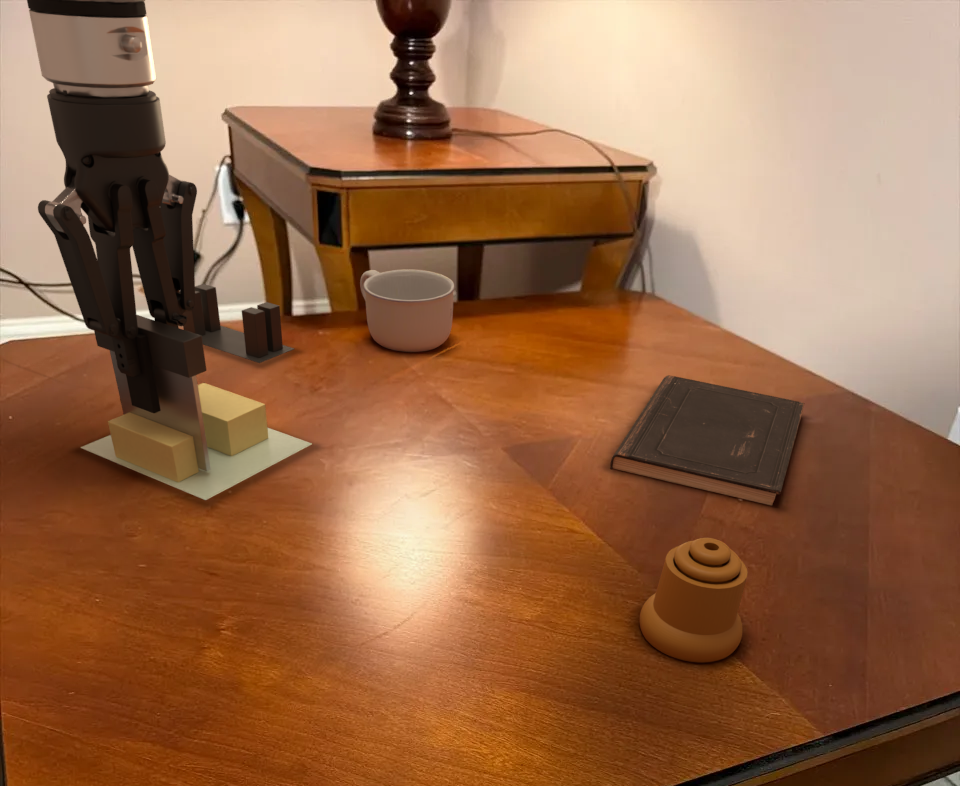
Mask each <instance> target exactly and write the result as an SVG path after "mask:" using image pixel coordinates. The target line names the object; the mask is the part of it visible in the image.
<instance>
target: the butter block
mask: <svg viewBox="0 0 960 786" xmlns="http://www.w3.org/2000/svg"><path fill="white" fill-rule="evenodd" d="M198 390H199V396H200V403H201V409H202V416H203V422H204V429H205V435H206V441H207V447H209V448H211V449H214V450H217V451H219V452H222V453H224V454H227V455H230V456H233V455H235V454H237V453H239V452H241V451H243V450H245V449H247V448H249V447H251V446H253V445H256V444H258V443H260V442H262V441H264V440H266V439H268V428H269V427H268V419H267V418H268V417H267V409H266V408H267V407H266V404H265V403H263V402H261V401H257V400H255V399H252V398H248V397H246V396H243V395H240V394H237V393H234V392H231V391H229V390H226V389H223V388H220V387H217V386H214V385H213V384H208V383H206V382H202V383H199V384H198ZM267 427H268V428H267Z"/></svg>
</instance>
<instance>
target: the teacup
mask: <svg viewBox="0 0 960 786" xmlns="http://www.w3.org/2000/svg"><path fill="white" fill-rule="evenodd" d="M359 281H360V282H359V286H360V292H361V295H362V298H363V299H364V301H365V312H366V322H367V328H368V332H369V334H370V336H371V337H372V339H373V341H375V342H376V343H377V344H378V345H379V346H382V347H383V348H385V349H388V350H391V351H397V352H401V353H402V352H403V353H422V352H428V351H432V350H434V349H436V348H438V347H440V346H441V345H443V344H445V342H446V341H447V340H448V338H449V336H450V335H451V332H452V327H453V317H454V292H455V283H454V281H453V280H452V279H451V278H450V277H447V276H446V275H444V274H441V273H438V272H434V271H429V270H424V269H414V268H413V269H412V268H411V269H409V268H408V269H407V268H405V269H393V270H386V271H383V272H380V271H378V270H376V269H370V270H366V271H364V272H363V274H362V275H361V277H360V280H359Z"/></svg>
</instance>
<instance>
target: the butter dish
mask: <svg viewBox="0 0 960 786" xmlns="http://www.w3.org/2000/svg"><path fill="white" fill-rule="evenodd" d="M267 428H268V439H266V440H264V441H262V442H260V443H258V444H256V445H253V446H251V447H249V448H247V449H245V450H243V451H241V452H239V453H237V454H235V455H233V456H230V455H227V454H224V453H222V452H219V451H217V450H214V449H211V448H209V447H207V448H208V454H209V461H210V467H211V470H209V471H204V470H202V469H199V468H198V469H199V472H198V473H196V474H194V475H192V476H190V477H188V478H186V479H184V480H182V481H180V482H176V481H173V480H171V479H168V478H166V477H164V476H161V475H159V474H156V473H154V472H152V471H149V470H147V469H144V468H142V467H139V466H137V465H135V464H132V463H130V462H127V461H125V460H123V459H120V458H118V457H116V456H115V451H114V447H113V443H112V438H111V434H109V435H106V436H105V437H102V438H99V439H97V440H94V441H92V442H90V443H87V444H85V445H82V446H80V449H83V450H84V451H87V452H90V453H92V454H94V455H97V456H99V457H100V458H103V459H107V460H109V461H110V462H113V463H116V464H117V465H120V466H123V467H125V468H128V469H130V470H132V471H135V472H137V473H139V474H141V475H144V476H147V477H149V478H151V479H153V480H156V481H159V482H161V483H164V484H165V485H168V486H171V487H173V488H175V489H178V490H180V491H182V492H185V493H187V494H189V495H193V496H194V497H197V498H199V499H202V500H204V501H207V500H209V499H211V498H213V497H215V496H217V495H219V494H220V493H222V492H224V491H226V490H228V489H230V488H232V487H234V486H236V485H238V484H239V483H241V482H243V481H245V480H248V479H249V478H251V477H252V476H255V475H257V474H259V473H261V472H262V471H264V470H266V469H268V468H270V467H272V466H274V465H276V464H278V463H279V462H281V461H283V460H285V459H287V458H289V457H290V456H293V455H295V454H297V453H299V452H300V451H302V450H304V449H306V448H308V447H310V446H311V445H313V443H312V442H309V441H307V440H303V439H301V438H298V437H296V436H292V435H290V434H287V433H284V432H281V431H279V430H276V429H273V428H271V427H268V426H267Z"/></svg>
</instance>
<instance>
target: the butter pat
mask: <svg viewBox="0 0 960 786" xmlns="http://www.w3.org/2000/svg"><path fill="white" fill-rule="evenodd" d="M107 425H108V429H109V433H110V434H109V435H111V438H112V443H113V447H114V451H115V456H116V457H118V458H120V459H123V460H125V461H127V462H130V463H132V464H135V465H137V466H139V467H142V468H144V469H147V470H149V471H152V472H154V473H156V474H159V475H161V476H164V477H166V478H168V479H171V480H173V481H176V482H180V481H182V480H184V479H186V478H188V477H190V476H192V475H194V474H196V473H198V472H199V469H198V463H197V457H196V451H195V445H194V439H193V436H191V435H188V434H185V433H183V432H180V431H177V430H175V429H172V428H170V427H167V426H164V425H162V424H159V423H157V422H154V421H151V420H149V419H146V418H143V417H141V416H138V415H136V414H133V413H130V412H129V413H127V414H124V415H123V414H122V415H119V416H117V417H115V418H112V419H109V420H108V421H107Z"/></svg>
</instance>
